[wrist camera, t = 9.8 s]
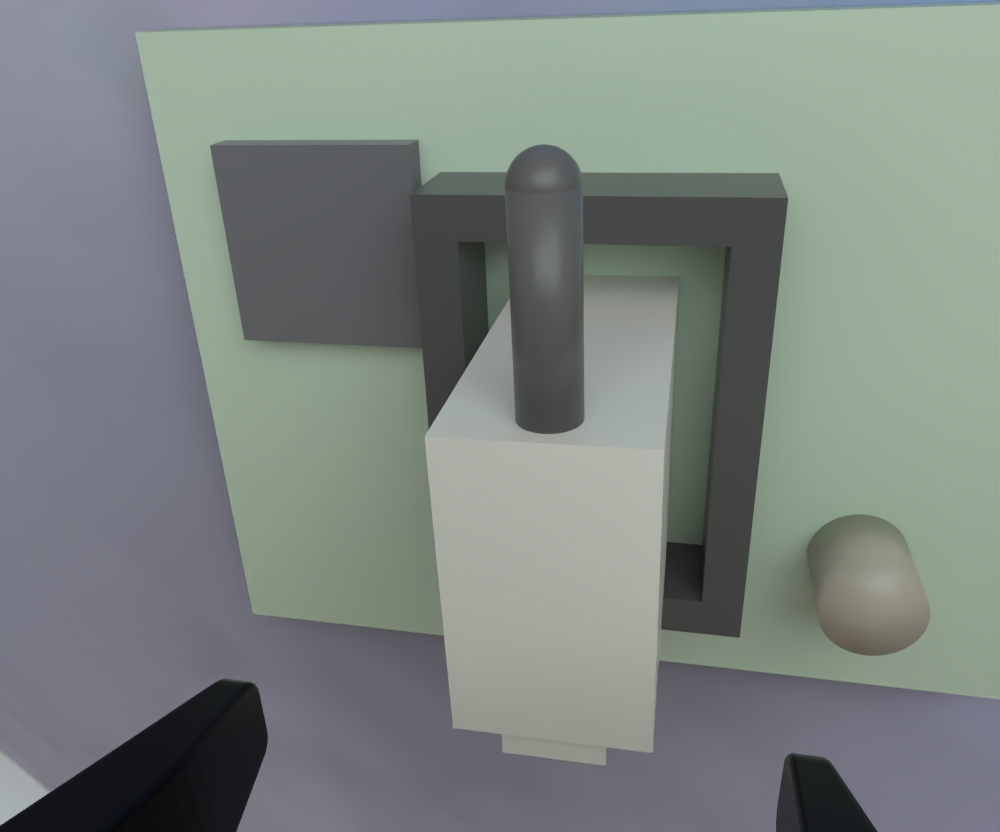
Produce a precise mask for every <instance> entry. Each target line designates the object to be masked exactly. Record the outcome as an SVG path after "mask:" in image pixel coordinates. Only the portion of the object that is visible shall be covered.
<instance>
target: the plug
mask: <svg viewBox="0 0 1000 832" xmlns="http://www.w3.org/2000/svg"><path fill="white" fill-rule="evenodd" d="M505 205H506V227H507V248H508V270H509V292H510V298H509V300H508V302H507V303H506V305H505V307H504V308H503V310H502V311H501V313H500V315H499V316H498V318H497V320H496V321H495V323H494V324H493V326H492V328H491V329H490V331H489V333H488V334H487V336H486V337H485V339H484V341H483V342H482V344H481V346H480V347H479V349H478V350H477V352H476V354H475V355H474V357H473V359H472V360H471V362H470V364H469V365H468V367H467V368H466V370H465V372H464V373H463V375H462V377H461V378H460V380H459V381H458V383H457V385H456V386H455V388H454V390H453V391H452V393H451V394H450V396H449V398H448V399H447V401H446V403H445V404H444V406H443V407H442V409H441V411H440V412H439V414H438V416H437V417H436V419H435V421H434V422H433V424H432V425H431V427H430V429H429V430H428V432H427V434H426V435H425V437H424V438H425V448H426V458H427V468H428V478H429V488H430V499H431V509H432V519H433V529H434V539H435V549H436V559H437V570H438V580H439V590H440V600H441V610H442V620H443V630H444V641H445V651H446V661H447V671H448V681H449V691H450V702H451V712H452V722H453V728H456V729H464V730H472V731H480V732H488V733H496V734H501V735H502V751H503V752H504V753H511V754H519V755H527V756H534V757H542V758H550V759H557V760H565V761H573V762H580V763H588V764H596V765H603V766H606V759H607V751H608V748H615V749H623V750H631V751H639V752H647V753H653V743H654V728H655V713H656V698H657V683H658V668H659V653H660V638H661V622H662V607H663V592H664V577H665V562H666V547H667V532H668V517H669V502H670V480H671V456H672V433H673V410H674V386H675V363H676V340H677V316H678V293H679V276H626V275H583V181H582V174H581V171H580V168H579V166H578V164H577V162H576V161H575V160H574V159H573V157H572V156H571V155H570V154H569V153H567V152H566V151H565V150H563V149H561V148H559V147H557V146H553V145H548V144H540V145H535V146H532V147H529V148H527V149H525V150H524V151H522V152H521V153H519V154H518V155H517V156H516V157H515V158H514V160H513V161H512V162H511V164H510V166H509V168H508V170H507V173H506V177H505Z"/></svg>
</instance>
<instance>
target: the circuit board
mask: <svg viewBox="0 0 1000 832" xmlns="http://www.w3.org/2000/svg"><path fill="white" fill-rule="evenodd" d="M135 35H136V40H137V44H138V49H139V54H140V59H141V64H142V69H143V74H144V79H145V84H146V89H147V94H148V99H149V104H150V109H151V114H152V118H153V123H154V128H155V133H156V138H157V143H158V148H159V153H160V158H161V163H162V168H163V173H164V178H165V183H166V188H167V192H168V197H169V202H170V207H171V212H172V217H173V222H174V227H175V232H176V237H177V242H178V247H179V252H180V257H181V261H182V266H183V271H184V276H185V281H186V286H187V291H188V296H189V301H190V306H191V311H192V316H193V321H194V326H195V331H196V335H197V340H198V345H199V350H200V355H201V360H202V365H203V370H204V375H205V380H206V385H207V390H208V395H209V400H210V405H211V409H212V414H213V419H214V424H215V429H216V434H217V439H218V444H219V449H220V454H221V459H222V464H223V469H224V474H225V479H226V483H227V488H228V493H229V498H230V503H231V508H232V513H233V518H234V523H235V528H236V533H237V538H238V543H239V548H240V553H241V557H242V562H243V567H244V572H245V577H246V582H247V587H248V592H249V597H250V602H251V607H252V612H253V614H258V615H267V616H276V617H284V618H293V619H302V620H311V621H319V622H328V623H337V624H346V625H354V626H363V627H372V628H380V629H389V630H398V631H407V632H415V633H424V634H433V635H442V636H444V630H443V620H442V610H441V600H440V590H439V580H438V570H437V559H436V549H435V539H434V529H433V519H432V509H431V499H430V488H429V478H428V468H427V458H426V448H425V438H424V437H425V435H426V434H427V432H428V430H429V429H430V427H431V425H432V424H433V422H434V421H435V419H436V417H437V416H438V414H439V412H440V411H441V409H442V407H443V406H444V404H445V403H446V401H447V399H448V398H449V396H450V394H451V393H452V391H453V390H454V388H455V386H456V385H457V383H458V381H459V380H460V378H461V377H462V375H463V373H464V372H465V370H466V368H467V367H468V365H469V364H470V362H471V360H472V359H473V357H474V355H475V354H476V352H477V350H478V349H479V347H480V346H481V344H482V342H483V341H484V339H485V337H486V336H487V334H488V333H489V331H490V329H491V328H492V326H493V324H494V323H495V321H496V320H497V318H498V316H499V315H500V313H501V311H502V310H503V308H504V307H505V305H506V303H507V302H508V300H509V298H510V292H509V270H508V248H507V227H506V205H505V177H506V173H507V170H508V168H509V166H510V164H511V162H512V161H513V160H514V158H515V157H516V156H517V155H518V154H519V153H521V152H522V151H524V150H525V149H527V148H529V147H532V146H535V145H540V144H548V145H553V146H557V147H559V148H561V149H563V150H565V151H566V152H567V153H569V154H570V155H571V156H572V157H573V159H574V160H575V161H576V162H577V164H578V166H579V168H580V171H581V174H582V181H583V275H626V276H679V293H678V316H677V340H676V363H675V386H674V410H673V433H672V456H671V480H670V502H669V517H668V532H667V547H666V562H665V577H664V592H663V607H662V622H661V638H660V653H659V660H660V661H669V662H677V663H686V664H695V665H703V666H712V667H721V668H730V669H738V670H747V671H756V672H765V673H773V674H782V675H791V676H799V677H808V678H817V679H826V680H834V681H843V682H852V683H861V684H869V685H878V686H887V687H896V688H904V689H913V690H922V691H930V692H939V693H948V694H957V695H965V696H974V697H983V698H992V699H1000V2H972V3H942V4H912V5H881V6H851V7H820V8H790V9H760V10H729V11H699V12H669V13H638V14H608V15H578V16H547V17H517V18H486V19H456V20H426V21H395V22H365V23H335V24H304V25H274V26H244V27H213V28H183V29H168V30H157V31H146V32H135Z"/></svg>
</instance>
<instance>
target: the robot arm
mask: <svg viewBox="0 0 1000 832" xmlns="http://www.w3.org/2000/svg"><path fill="white" fill-rule="evenodd" d="M267 741H268V734H267V728H266V723H265V718H264V713H263V709H262V704H261V699H260V694H259V691H258V688H257V687H256V685H255V684H254V683H251V682H247V681H239V680H232V679H222V680H219V681H217V682H215V683H214V684H212V685H211V686H209V687H208V688H206V689H205V690H203V691H202V692H200V693H199V694H197V695H196V696H194V697H193V698H191V699H190V700H188V701H187V702H185V703H184V704H182V705H181V706H179V707H178V708H176V709H175V710H173V711H172V712H170V713H169V714H167V715H166V716H164V717H163V718H161V719H160V720H158V721H157V722H155V723H154V724H152V725H151V726H149V727H148V728H146V729H145V730H143V731H142V732H140V733H139V734H137V735H136V736H134V737H133V738H131V739H130V740H128V741H127V742H125V743H124V744H122V745H121V746H119V747H118V748H116V749H115V750H113V751H112V752H110V753H109V754H107V755H106V756H104V757H103V758H101V759H100V760H98V761H97V762H95V763H94V764H92V765H91V766H89V767H88V768H86V769H85V770H83V771H82V772H80V773H79V774H77V775H76V776H74V777H73V778H71V779H70V780H68V781H67V782H65V783H64V784H62V785H61V786H59V787H58V788H56V789H55V790H53V791H52V792H50V793H49V794H47V795H46V796H44V797H42V798H41V799H39V800H38V801H36V802H35V803H33V804H32V805H30V806H29V807H27V808H26V809H25V810H23V811H21V812H20V813H18V814H17V815H16V816H14V817H12V818H11V819H9V820H8V821H6V822H5V823H4V824H2V825H1V826H0V832H236V831H237V828H238V826H239V823H240V820H241V818H242V815H243V812H244V810H245V807H246V804H247V801H248V799H249V796H250V793H251V791H252V788H253V785H254V783H255V780H256V777H257V774H258V772H259V769H260V766H261V764H262V761H263V758H264V755H265V752H266V748H267ZM776 832H877V830H876V829H875V827H874V826H873V824H872V823H871V821H870V820H869V818H868V817H867V815H866V814H865V813H864V811H863V810H862V808H861V807H860V805H859V804H858V802H857V801H856V799H855V798H854V796H853V795H852V793H851V792H850V790H849V789H848V787H847V786H846V784H845V783H844V781H843V780H842V778H841V777H840V775H839V774H838V772H837V771H836V769H835V768H834V766H833V765H832V764H831V762H830V761H829V760H827V759H825V758H823V757H817V756H809V755H802V754H794V753H793V754H789V755H787V757H786V758H785V761H784V767H783V774H782V780H781V787H780V793H779V800H778V807H777V818H776Z"/></svg>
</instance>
